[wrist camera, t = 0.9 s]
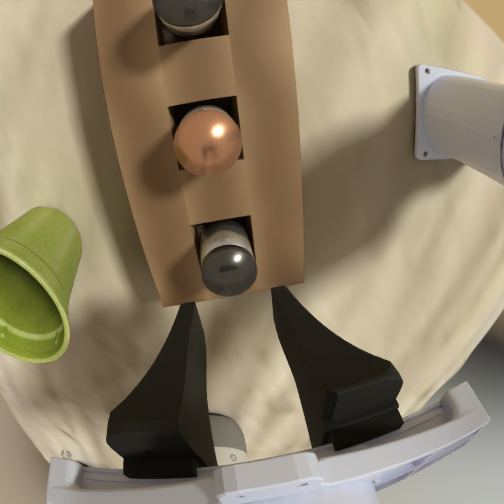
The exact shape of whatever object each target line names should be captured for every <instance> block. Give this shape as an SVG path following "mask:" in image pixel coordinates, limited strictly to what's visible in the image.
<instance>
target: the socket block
mask: <svg viewBox="0 0 504 504" xmlns="http://www.w3.org/2000/svg"><path fill="white" fill-rule="evenodd" d="M93 9H94V20H95V30H96V39H97V48H98V55H99V62H100V69H101V76H102V82H103V88H104V94H105V99H106V105H107V110H108V115H109V120H110V125H111V130H112V134H113V139H114V144H115V148H116V152H117V157H118V161H119V165H120V169H121V173H122V177H123V181H124V185H125V188H126V192H127V196H128V199H129V203H130V207H131V210H132V214H133V217H134V220H135V224H136V227H137V230H138V234H139V237H140V240H141V243H142V247H143V250H144V253H145V256H146V259H147V262H148V265H149V268H150V271H151V274H152V277H153V280H154V282H155V285H156V288H157V291H158V294H159V296H160V299H161V302H162V305H163V307H168V306H174V305H181V304H182V303H187V302H193V301H195V302H199V301H205V300H211V299H217V298H223V297H229V296H220V295H217V294H215V293H213V292H211V291H210V290H208V289H207V288H206V286H205V285H204V283H203V281H202V275H201V248H200V239H199V234H198V230H197V225H196V224H200V223H206V222H212V221H217V220H223V219H229V218H235V217H241V216H245V219H246V227H247V235H248V239H249V243H250V246H251V249H252V253H253V256H254V259H255V262H256V266H257V278H256V280H255V282H254V284H253V285H252V286H251V287H250V288H249V289H248V290H247V291H245V292H243V293H241V294H246V293H251V292H257V291H262V290H268V289H271V288H273V287H278V286H283V285H284V286H289V285H294V284H299V283H304V227H303V194H302V171H301V151H300V134H299V119H298V105H297V93H296V81H295V70H294V59H293V49H292V40H291V31H290V22H289V14H288V6H287V0H223V2H222V5H221V9H220V19H221V27H222V35H223V36H216V37H209V38H202V39H195V40H189V41H183V42H178V43H173V44H168V45H165V37H164V29H163V22H162V20H161V19H160V17H159V16H158V14H157V13H156V11H155V9H154V7H153V4H152V0H93ZM228 96H230V100H231V108H232V116H233V121H234V122H235V123H236V124H237V126H238V128H239V130H240V132H241V136H242V149H241V153H240V155H239V157H238V159H237V161H236V162H235V163H234V165H233V166H232V167H230V168H229V169H228V170H226V171H225V172H223V173H221V174H218V175H214V176H199V175H196V174H193V173H191V172H189V171H188V170H186V169H185V168H184V167H183V166H182V165H181V164H180V163H179V161H178V160H177V158H176V155H175V152H174V137H175V133H176V131H177V129H178V125H177V119H176V113H175V107H174V105H179V104H184V103H190V102H196V101H201V100H208V99H214V98H221V97H228ZM238 295H240V294H238Z"/></svg>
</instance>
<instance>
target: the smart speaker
mask: <svg viewBox="0 0 504 504" xmlns="http://www.w3.org/2000/svg"><path fill="white" fill-rule="evenodd" d="M209 418H210V424H211V431H212V437H213V443H214V448H215V453H216V458H217V463H218V466H221V465H229V464H234V463H241V462H247V461H248V459H247V450H246V443H245V438H244V435H243V432H242V430H241V428H240V427H239V425H238V424H237V423H236V422H235V421H234V420H233V419H231V418H229V417H226V416H223V415H218V414H209Z"/></svg>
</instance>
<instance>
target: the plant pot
mask: <svg viewBox="0 0 504 504" xmlns="http://www.w3.org/2000/svg"><path fill="white" fill-rule="evenodd" d="M81 252H82V248H81V237H80V234H79V232H78V230H77V228H76V226H75V225H74V223H73V222H72V221H71V220H70V219H69V218H68V217H67V216H66V215H65V214H64V213H62V212H61V211H59V210H57V209H51V208H44V207H36V208H33V209H31V210H30V211H28V212H27V213H25V214H24V215H22V216H21V217H19V218H18V219H16V220H15V221H13V222H12V223H10V224H9V225H8V226H6V227H5V228H3V229H2V230H0V351H2V352H3V353H6V354H8V355H9V356H12V357H14V358H17V359H20V360H22V361H27V362H32V363H46V362H52V361H54V360H56V359H58V358H59V357H61V356H62V355H63V354H64V353H65V351H66V349H67V347H68V344H69V340H70V323H69V318H68V304H69V299H70V295H71V291H72V287H73V283H74V279H75V276H76V272H77V269H78V265H79V262H80V258H81Z"/></svg>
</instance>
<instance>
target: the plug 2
mask: <svg viewBox="0 0 504 504" xmlns="http://www.w3.org/2000/svg"><path fill="white" fill-rule="evenodd" d="M200 248H201V275H202V281H203V283H204V285H205V286H206V288H207V289H208V290H210V291H211V292H213V293H215V294H217V295H220V296H235V295H238V294H241V293H243V292H245V291H247V290H248V289H249V288H250V287H251V286H252V285H253V284H254V282H255V280H256V278H257V266H256V262H255V259H254V256H253V253H252V249H251V246H250V243H249V239H248V236H247V233H246V231H245V229H244V228H243V227H242V226H241V225H240V224H239V223H237V222H234V221H231V220H219V221H216V222H213V223H211V224H210V225H208V226H207V227H206V228H205V230H204V231H203V233H202V235H201V239H200Z"/></svg>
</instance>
